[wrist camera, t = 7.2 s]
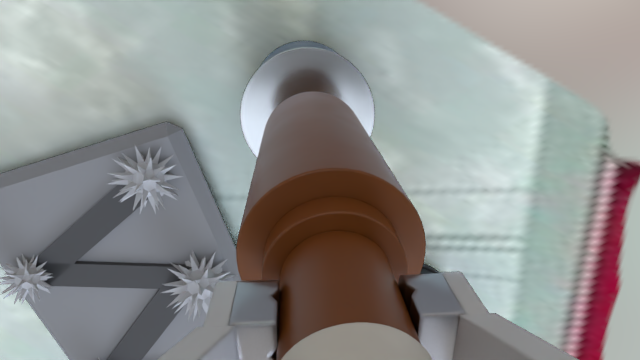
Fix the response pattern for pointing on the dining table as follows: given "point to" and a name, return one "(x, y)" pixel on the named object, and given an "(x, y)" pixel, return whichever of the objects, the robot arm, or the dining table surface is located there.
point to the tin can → (302, 86)
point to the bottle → (331, 236)
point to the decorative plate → (116, 244)
